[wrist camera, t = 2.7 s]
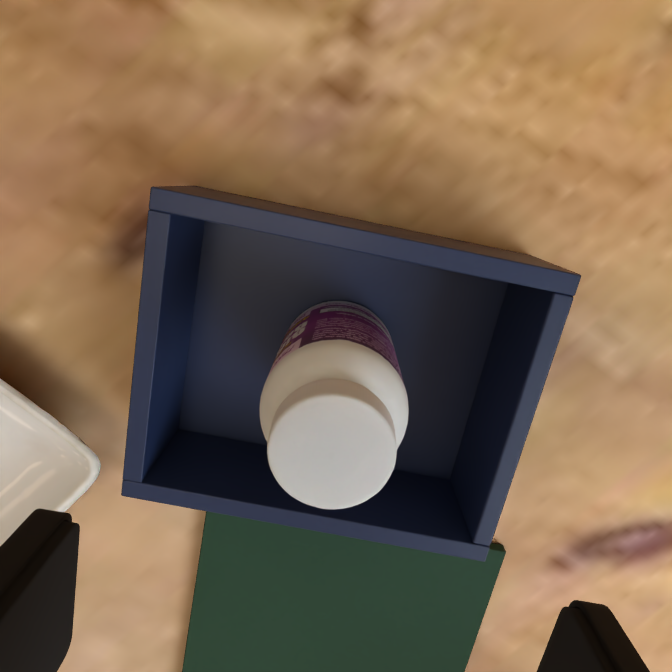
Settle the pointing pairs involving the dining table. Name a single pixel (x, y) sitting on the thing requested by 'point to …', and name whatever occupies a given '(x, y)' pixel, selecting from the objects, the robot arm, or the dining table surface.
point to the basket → (266, 338)
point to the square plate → (38, 462)
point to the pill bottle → (334, 407)
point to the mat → (330, 602)
